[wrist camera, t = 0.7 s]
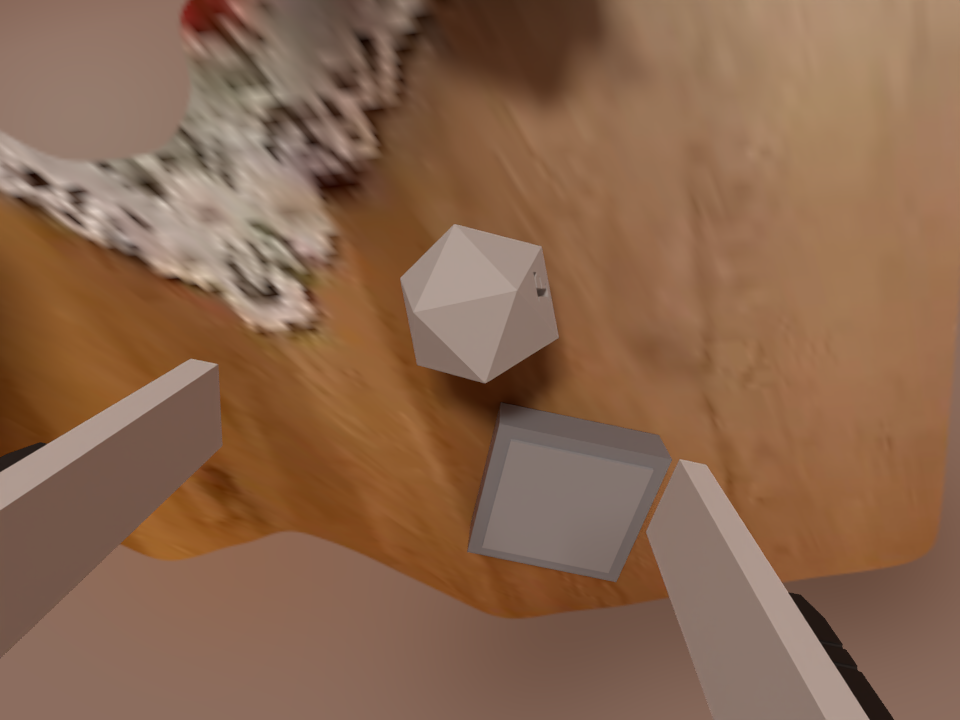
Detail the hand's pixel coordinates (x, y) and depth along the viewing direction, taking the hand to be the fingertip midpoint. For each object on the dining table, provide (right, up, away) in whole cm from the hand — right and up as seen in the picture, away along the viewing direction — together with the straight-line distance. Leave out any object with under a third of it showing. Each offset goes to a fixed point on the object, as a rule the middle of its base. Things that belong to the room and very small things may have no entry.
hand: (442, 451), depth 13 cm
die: (+1, +7, +17) cm, 19 cm away
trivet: (+7, -7, +23) cm, 25 cm away
